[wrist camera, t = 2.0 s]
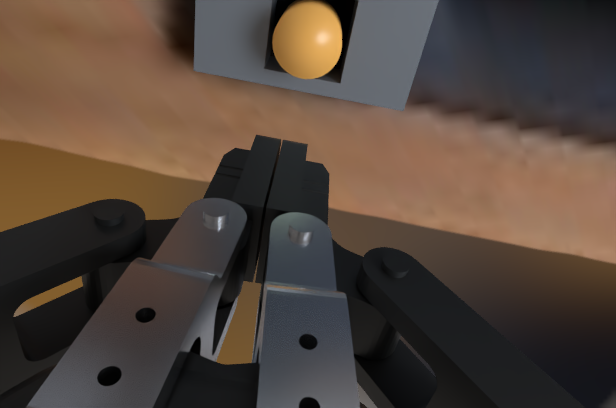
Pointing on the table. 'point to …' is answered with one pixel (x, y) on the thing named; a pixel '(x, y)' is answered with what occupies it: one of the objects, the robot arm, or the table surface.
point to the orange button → (308, 39)
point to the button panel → (336, 83)
